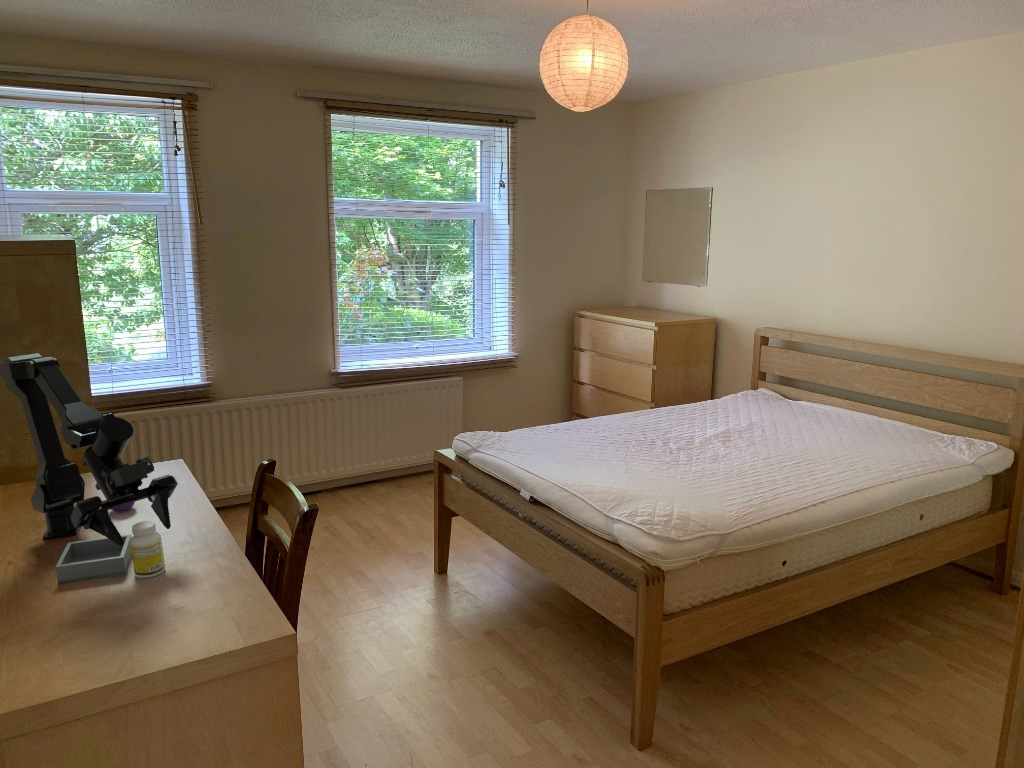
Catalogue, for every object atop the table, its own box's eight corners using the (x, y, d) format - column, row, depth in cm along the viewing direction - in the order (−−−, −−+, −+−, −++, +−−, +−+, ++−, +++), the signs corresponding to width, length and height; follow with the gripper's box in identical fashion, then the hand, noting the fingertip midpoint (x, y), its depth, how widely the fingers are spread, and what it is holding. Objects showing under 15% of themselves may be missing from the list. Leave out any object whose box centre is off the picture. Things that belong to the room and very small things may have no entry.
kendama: (138, 471, 192) (136, 490, 174) (136, 494, 193) (133, 515, 175) (111, 470, 190) (106, 489, 172) (109, 493, 190) (104, 515, 172)
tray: (70, 558, 152) (68, 542, 151) (133, 550, 155) (131, 534, 154) (58, 584, 141) (55, 567, 140) (125, 574, 145) (123, 557, 144)
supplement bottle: (140, 566, 148) (134, 519, 146) (169, 565, 148) (163, 518, 146) (129, 579, 143) (123, 531, 140) (159, 578, 143) (153, 529, 141)
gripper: (68, 460, 135) (108, 531, 132) (167, 435, 150) (205, 498, 146) (54, 493, 142) (92, 562, 138) (150, 466, 156) (186, 527, 153)
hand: (146, 536), depth 143 cm, fingers open, 9 cm apart
